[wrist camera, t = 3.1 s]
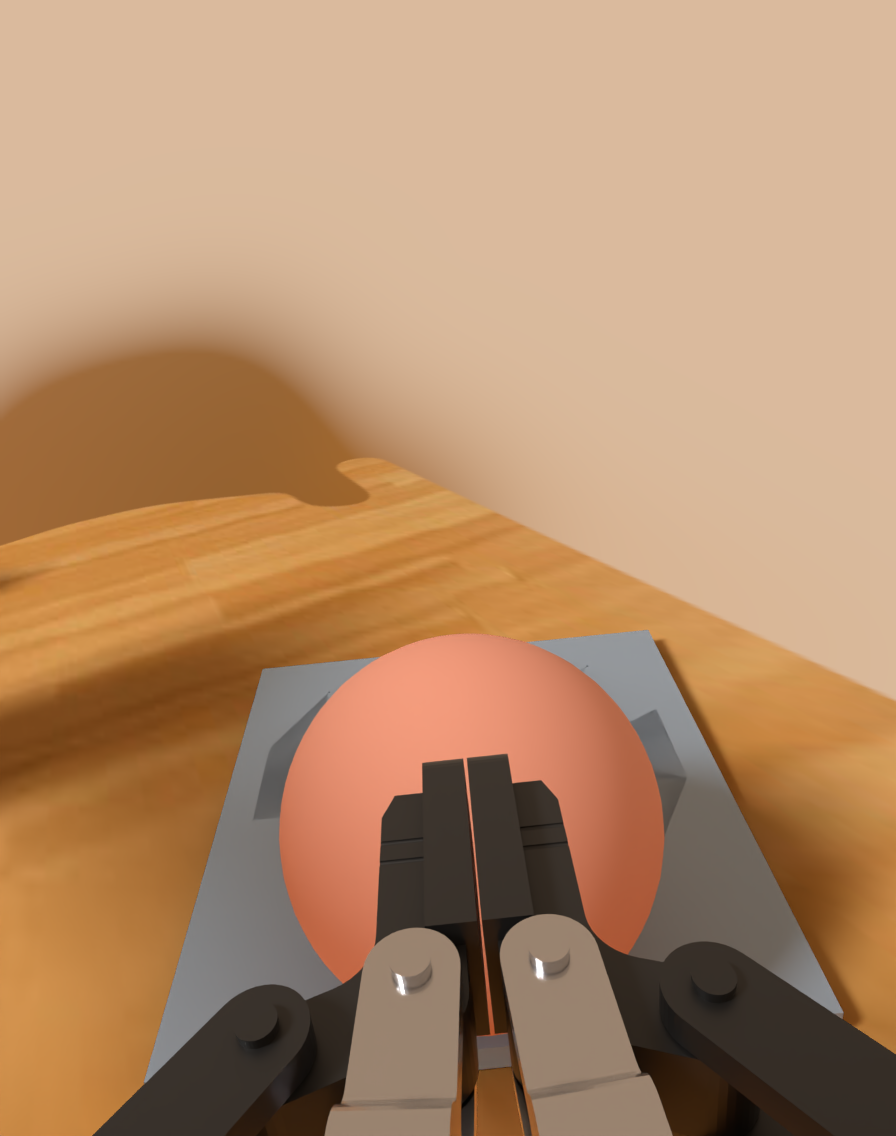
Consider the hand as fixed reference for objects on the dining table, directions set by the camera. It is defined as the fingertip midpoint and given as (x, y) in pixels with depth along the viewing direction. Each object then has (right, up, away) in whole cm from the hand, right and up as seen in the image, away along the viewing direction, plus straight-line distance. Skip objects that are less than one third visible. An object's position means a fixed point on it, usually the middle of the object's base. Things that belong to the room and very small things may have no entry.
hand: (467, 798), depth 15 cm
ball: (0, -4, +12) cm, 13 cm away
